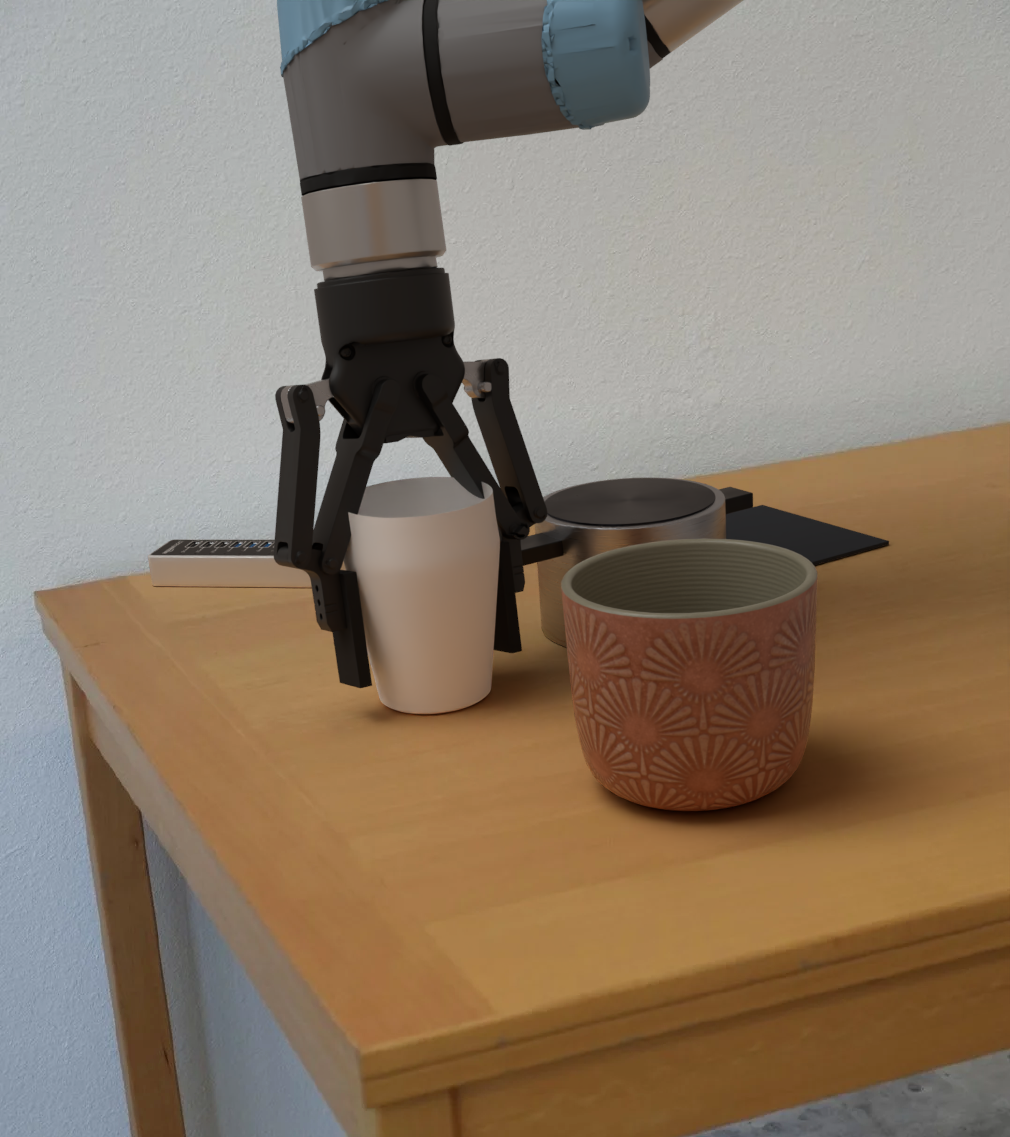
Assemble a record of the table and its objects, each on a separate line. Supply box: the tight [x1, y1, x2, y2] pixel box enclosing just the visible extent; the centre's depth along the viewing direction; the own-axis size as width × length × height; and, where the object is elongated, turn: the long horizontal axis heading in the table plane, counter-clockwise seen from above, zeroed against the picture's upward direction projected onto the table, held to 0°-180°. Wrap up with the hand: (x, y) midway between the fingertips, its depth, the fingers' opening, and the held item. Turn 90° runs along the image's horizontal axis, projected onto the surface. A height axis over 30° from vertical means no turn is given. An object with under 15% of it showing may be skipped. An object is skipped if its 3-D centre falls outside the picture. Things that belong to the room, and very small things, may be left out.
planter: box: [561, 539, 819, 812], centre depth 85 cm, size 12×12×11 cm
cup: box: [344, 476, 500, 715], centre depth 98 cm, size 9×9×12 cm
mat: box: [726, 504, 890, 566], centre depth 124 cm, size 14×14×1 cm
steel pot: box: [521, 477, 754, 648], centre depth 108 cm, size 12×18×8 cm, turn 122°
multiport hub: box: [147, 538, 346, 589], centre depth 125 cm, size 4×14×2 cm, turn 75°
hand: (432, 666), depth 100 cm, fingers open, 9 cm apart
